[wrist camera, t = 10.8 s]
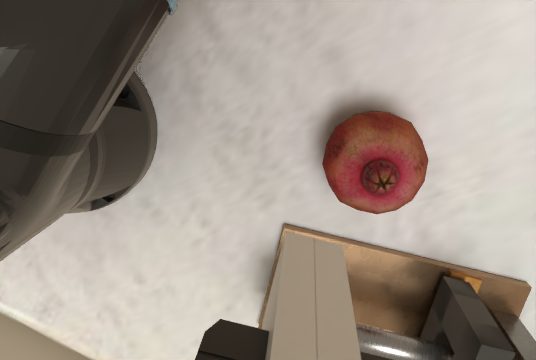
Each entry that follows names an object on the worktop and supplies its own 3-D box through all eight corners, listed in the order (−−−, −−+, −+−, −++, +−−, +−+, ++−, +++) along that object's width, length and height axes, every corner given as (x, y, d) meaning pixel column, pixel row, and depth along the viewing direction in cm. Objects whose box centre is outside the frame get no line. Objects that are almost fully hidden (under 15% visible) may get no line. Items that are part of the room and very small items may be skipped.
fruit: (392, 206, 43) (415, 254, 34) (308, 176, 43) (307, 215, 34) (430, 123, 41) (467, 149, 31) (342, 90, 41) (352, 107, 31)
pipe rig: (259, 323, 48) (248, 384, 39) (284, 223, 45) (278, 266, 36) (485, 378, 48) (522, 452, 39) (526, 282, 44) (578, 339, 36)
